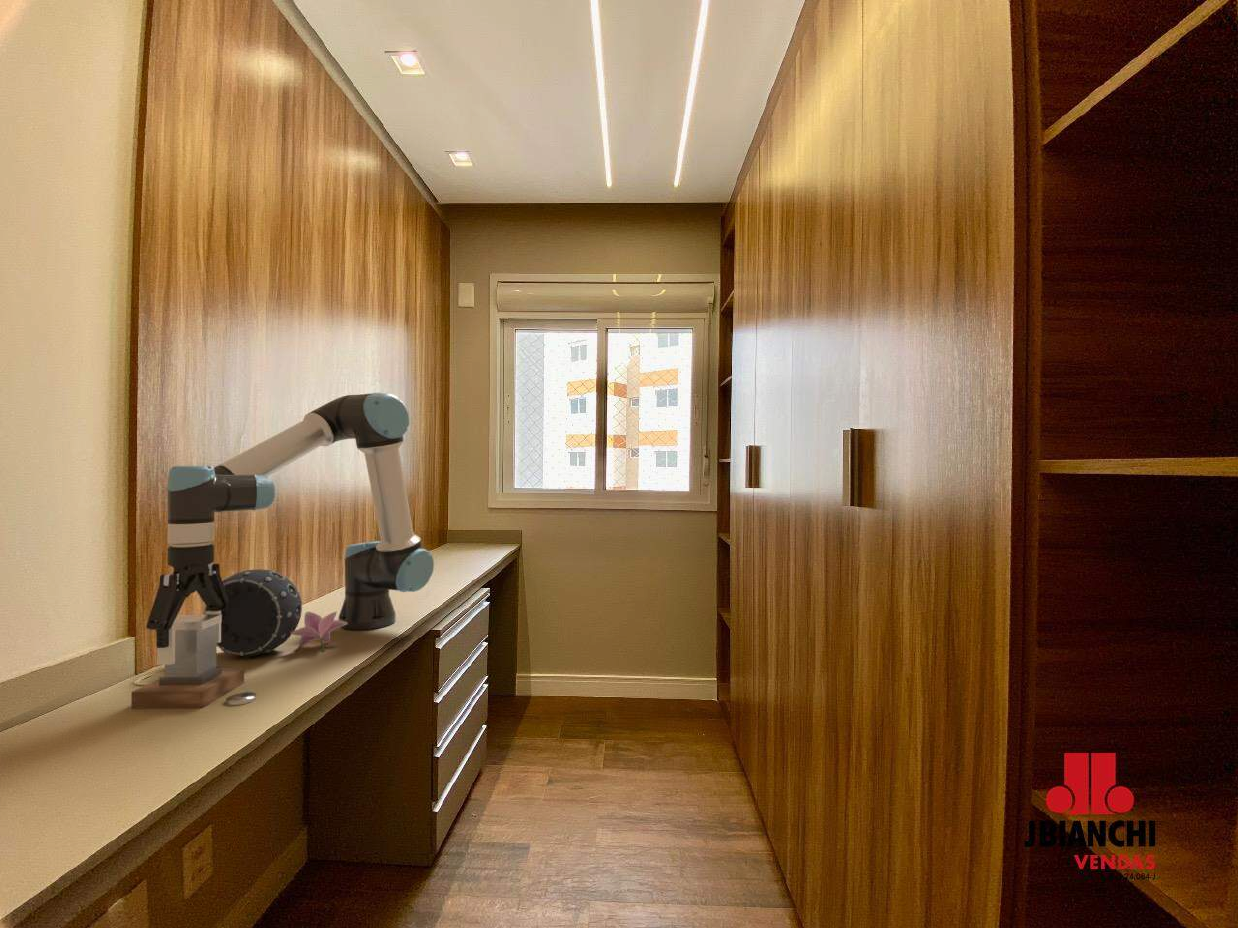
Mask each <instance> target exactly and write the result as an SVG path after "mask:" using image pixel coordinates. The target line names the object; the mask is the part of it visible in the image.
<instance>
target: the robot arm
mask: <svg viewBox="0 0 1238 928" xmlns="http://www.w3.org/2000/svg"><path fill="white" fill-rule="evenodd" d="M409 426H410V414H409V411H408V409H407V406H406V404H405V403H404V402H403V401H402V400H401V399H400V398H399V397H398V396H396V395H395V394H392V393H388V392H387V393H386V392H385V393H384V392H373V393H372V392H371V393H362V394H349V395H348V394H347V395H343V396H340V397H337V398H335V399H333V400H331V401H329V402H327V403H325V404H323V405H322V406H319V407H317V408H315V409H314V410H312V411H310V412H307V414H305V415H304V416H303V419H302V420H301V421H299V422H298V423H296V424H294V425H292V426H291V427H289V428H286V429H285V430H283V431H280V432H279V433H277V434H275V435H274V436H272V437H270V438H267V439H265V440H264V441H262V442H261V443H260V442H259V443H258V444H256V445H254V446H252V447H251V448H248V449H247V450H245V451H243V452H241V453H240V454H237V455H236V456H233V457H232V458H230V459H228V460H226V461H224V462H222V463H220V464H218V465H216V466H212V465H173V466H172V467H170V469H169V470H168V476H167V486H166V491H167V543H168V544H169V545H171V546H168V548H167V549H166V550H167V553H166V554H167V561H166V562H167V563H166V564H167V565H168V566H170V567H172V568H173V571H172V573H171V574H163V573H162V574H161V575H160V576H159V582H158V584H159V585H158V590H157V592H156V595H155V599H154V601H153V604H152V607H151V610H150V614H149V616H148V619H147V622H146V627H145V628H146V629H147V630H150V631H156V636H155V637H156V640H155V641H156V643H155V644H156V650H157V651H156V656H157V657H156V658H157V659H156V663H157V666H165V665H172V664H175V628H171V627H172V625H173V623H174V621H175V619H176V617H177V616H179V615H178V614H179V612H180V611H181V609H182V606H183V605H184V602H185V600H186V598H188V597H190V596H191V594H193V593H195V592H196V593H197V595H199V597H200V599H201V600H202V601H203V603H204V604H205V605H206V606H207V607H208V609H209V610H211V611H206V612H205V614H221V610H226V609H227V604H228V603H229V599H228V596H227V593H226V590H225V587H224V585H223V579H222V576H221V574H220V571H221V570H220V564H219V563H214V561H215V545H214V544H213V543H212V542H214V541H215V537H216V536H215V513H222V512H242V511H253V512H255V511H257V510H264V509H268V508H269V507H270V506H271V505H273V502H274V500H275V497H276V486H275V483H274V481H273V480H272V478H270V476H271V475H272V474H274V473H276V472H278V471H279V470H281V469H283V468H284V467H286V466H288V465H289V464H291V463H293V462H295V461H297V460H299V459H300V458H303V456H305V455H307V454H309V453H311V452H312V451H314V450H316V449H318V448H320V447H325V448H326V447H329V446H331V445H332V444H334V443H336V442H339V441H344V440H345V441H346V440H353V439H354V440H355V444H356V449H357V450H359V451H360V452H361V453H363V454H364V458H365V463H366V469H367V474H368V479H369V485H370V490H371V491H370V492H371V496H372V501H373V506H374V512H375V516H376V517H375V518H376V523H377V527H378V532H379V538H380V540H377V541H369V542H361V543H360V542H359V543H354V544H349V545H347V547H346V548H345V551H344V552H345V555H344V599H343V603H342V605H341V608H340V611H339V615H338V618H337V620H339V621H344V622H347V623H348V624H347V625H345V626H342V627H340V628H339V629H343V630H352V631H354V630H359V631H360V630H371V629H373V630H374V629H377V628H382V627H383V628H384V627H387V626H390V625H392V624H394V623H395V622H396V620H397V619H396V618H397V617H396V615H397V614H396V611H395V608H394V605H393V602H392V599H391V596H390V590H391V591H396V592H397V591H398V592H401V593H407V592H408V593H409V592H410V593H414V592H418V591H420V590H422V589H423V588H424V587H425V586H426V585H428V583H429V581H430V579H431V577H432V575H433V572H434V566H435V560H434V557H433V555H432V553H431V552H429V550H427V549H425V548H423V546H422V540H421V537H420V536H418V535H417V534H415V533H414V528H413V523H412V515H411V511H410V505H409V500H408V495H407V493H408V492H407V488H406V483H405V476H404V471H403V464H402V460H401V455H400V454H401V453H400V452H401V451H400V447H401V446H402V444H403V443H404V442H405V441H404V435H405V434H406V432H407V431H408V427H409ZM219 598H222V599H219ZM166 621H167V622H166ZM220 642H221V622H220V623H218V624H217V643H220Z"/></svg>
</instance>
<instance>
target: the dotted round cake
mask: <svg viewBox="0 0 1238 928" xmlns="http://www.w3.org/2000/svg"><path fill="white" fill-rule="evenodd" d="M222 582H223V585H224V587H225V590H226V593H227V596H228V599H229V603H228V604H227V609H226V610H221V614H222V622H221V642H220V643H217V648H218V649H220V650H221V652H223V653H224V654H225V653H226V654H232V655H234V656H241V657H243V658H245V659H246V658H250V657H254V656H259V655H264V654H266V653H269V652H271V651H273V650H275V649H276V648H278V647H279V646H281V645H283V644H284V643H285V642H287V641H288V640H289V638H291V636H292V635H291V634H290V633H292V632H293V631H295V630H297V627H298V626H299V623H300V620H301V618H302V612H303V609H302V608H303V607H302V606H303V603H302V598H301V595H300V592H299V591H298V588H297V587H296V586H295V584H294V583H293V581H291V580H290V579H289V578H287V576H284V575H283V574H281V573H279V572H276V571H273V570H270V569H265V568H261V569H258V568H257V569H247V570H243V571H241V572H239V571H238V572H237V573H234V574H233V575H231V576H227V577H225V578H224V579H222ZM219 599H222V598H219ZM206 611H211V610H209V609H208V607H207V606H206V604H205V605H204V610H203V614H205V612H206Z"/></svg>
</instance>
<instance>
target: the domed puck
mask: <svg viewBox="0 0 1238 928" xmlns="http://www.w3.org/2000/svg"><path fill="white" fill-rule="evenodd" d="M257 700H258V699H257V693H256V692H252V691H248V692H247V691H246V692H239V693H235V694H232V695H230V696H228V697H227V698H226V699H225V704H226V705H227V706H230V707H231V706H233V707H234V706H242V705H243V704H244V705H247V704H250V703H252V702H255V701H257ZM244 705H243V706H244Z"/></svg>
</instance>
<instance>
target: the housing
mask: <svg viewBox="0 0 1238 928" xmlns="http://www.w3.org/2000/svg"><path fill="white" fill-rule="evenodd" d="M166 622H167V621H166ZM220 622H222V614H204V613H203V614H179V615H177V617H176V619H175V621H174V623H173V625H172V627H171V628H175V664H172V665H164V674H163V675H161V676H159V678H158V679H159V685H203V684H204V683H206V682H208V681H210V680H212V679H214V678H215V677H217V676H219V675H221V674H222V666H217V660H218V659H217V658H218V657H217V651H218V650H217V648H218V646H217V624H218V623H220Z"/></svg>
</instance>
